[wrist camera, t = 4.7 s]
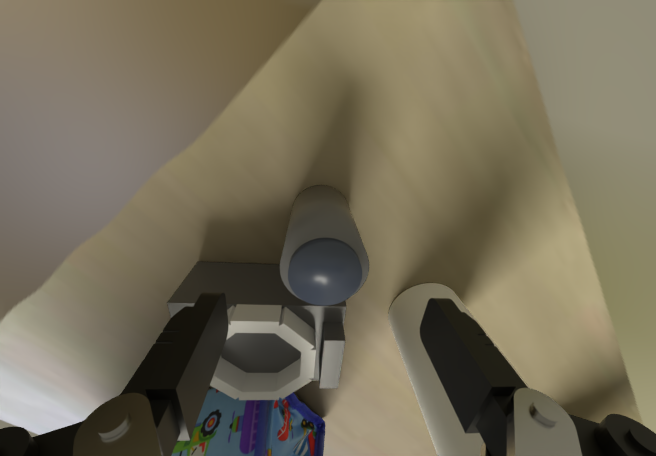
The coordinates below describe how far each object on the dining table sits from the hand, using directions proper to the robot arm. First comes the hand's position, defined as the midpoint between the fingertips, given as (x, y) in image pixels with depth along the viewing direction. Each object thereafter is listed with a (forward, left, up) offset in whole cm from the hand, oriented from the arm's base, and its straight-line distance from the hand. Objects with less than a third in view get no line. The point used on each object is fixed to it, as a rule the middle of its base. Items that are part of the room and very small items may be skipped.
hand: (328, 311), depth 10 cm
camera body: (+4, +9, -11) cm, 15 cm away
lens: (0, 0, -11) cm, 11 cm away
